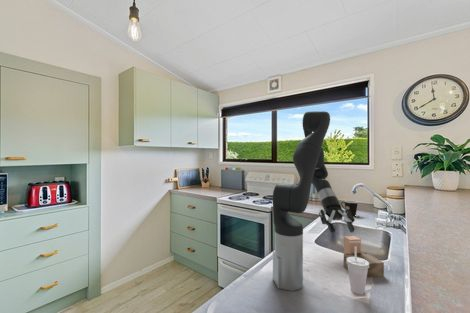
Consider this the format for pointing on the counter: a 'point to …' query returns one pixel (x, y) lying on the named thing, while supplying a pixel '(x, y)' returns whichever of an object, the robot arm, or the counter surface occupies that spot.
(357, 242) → the tan rectangular box
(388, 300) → the counter surface
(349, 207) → the coffee mug
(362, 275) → the smoothie
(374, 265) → the brown rectangular box
